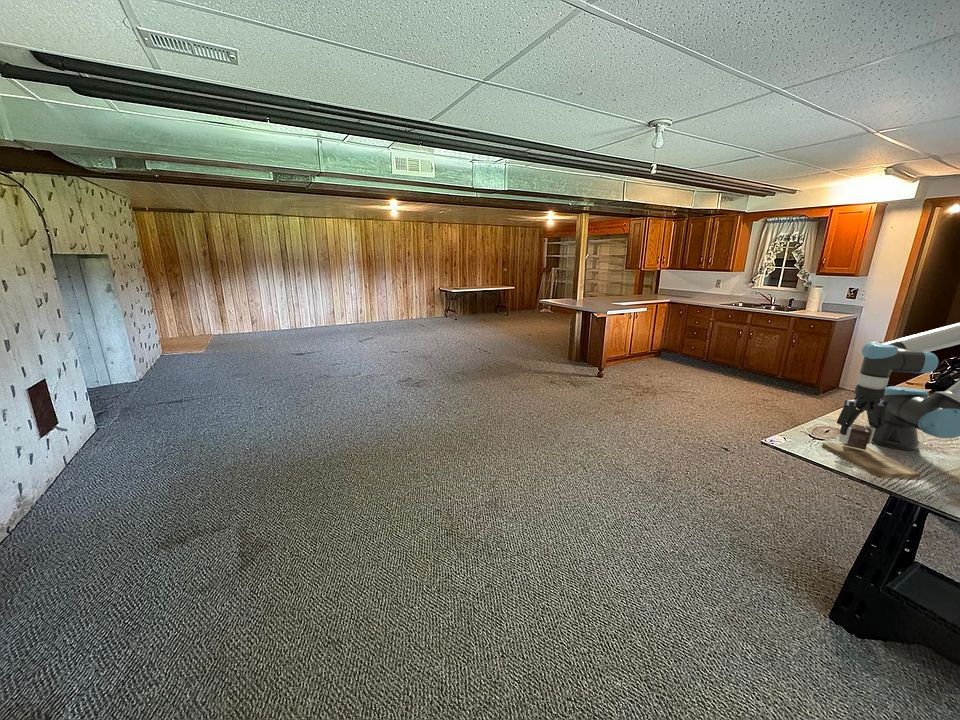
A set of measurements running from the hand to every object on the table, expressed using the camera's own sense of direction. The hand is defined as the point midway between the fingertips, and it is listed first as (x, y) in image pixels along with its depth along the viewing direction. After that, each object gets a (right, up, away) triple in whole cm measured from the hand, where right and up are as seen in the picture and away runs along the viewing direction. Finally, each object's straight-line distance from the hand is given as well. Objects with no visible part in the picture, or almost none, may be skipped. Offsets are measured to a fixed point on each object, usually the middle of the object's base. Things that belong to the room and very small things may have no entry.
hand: (854, 442), depth 143 cm
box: (0, -1, 0) cm, 1 cm away
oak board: (0, -6, -5) cm, 7 cm away
